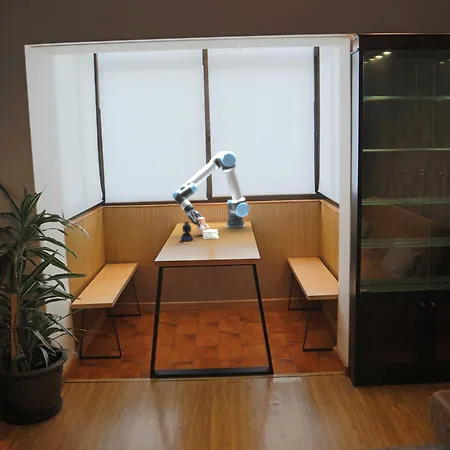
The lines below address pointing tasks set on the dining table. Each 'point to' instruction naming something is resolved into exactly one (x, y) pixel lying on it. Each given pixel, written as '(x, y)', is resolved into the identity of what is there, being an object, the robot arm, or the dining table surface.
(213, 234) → the base brick
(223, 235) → the dining table surface
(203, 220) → the tall brick
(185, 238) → the figurine
